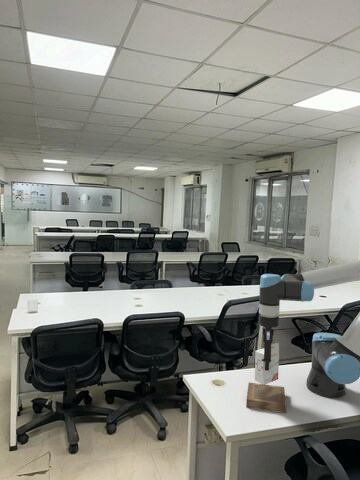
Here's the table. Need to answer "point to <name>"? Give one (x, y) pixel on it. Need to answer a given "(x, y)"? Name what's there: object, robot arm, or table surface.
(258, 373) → the ink cartridge box
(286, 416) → the table surface
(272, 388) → the walnut base
